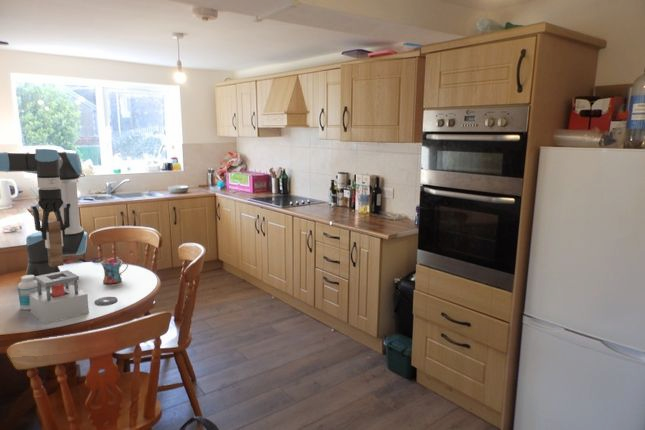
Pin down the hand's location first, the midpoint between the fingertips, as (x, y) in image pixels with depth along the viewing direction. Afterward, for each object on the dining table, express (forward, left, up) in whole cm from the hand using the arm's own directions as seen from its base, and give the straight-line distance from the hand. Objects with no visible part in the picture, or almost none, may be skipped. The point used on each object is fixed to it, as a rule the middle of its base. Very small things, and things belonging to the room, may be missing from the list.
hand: (54, 246), depth 171 cm
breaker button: (0, 0, -24) cm, 24 cm away
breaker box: (0, 0, -28) cm, 28 cm away
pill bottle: (-15, -6, -28) cm, 33 cm away
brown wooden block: (0, 0, -8) cm, 8 cm away
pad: (+1, +18, -28) cm, 33 cm away
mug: (-23, +33, -28) cm, 49 cm away
